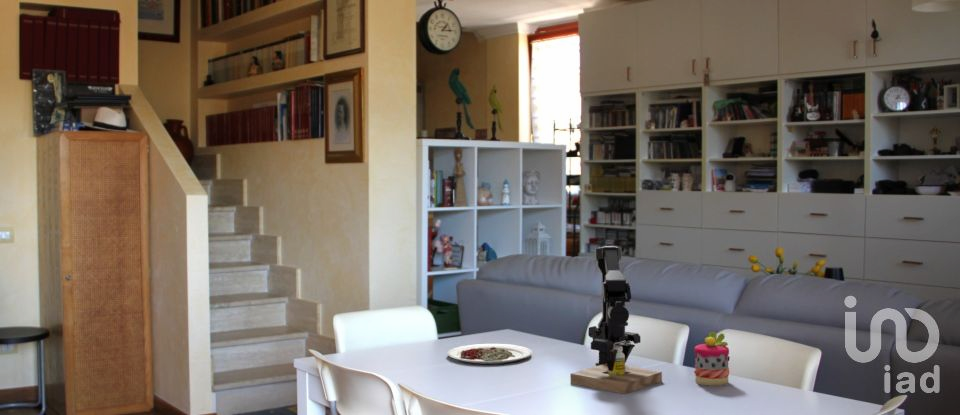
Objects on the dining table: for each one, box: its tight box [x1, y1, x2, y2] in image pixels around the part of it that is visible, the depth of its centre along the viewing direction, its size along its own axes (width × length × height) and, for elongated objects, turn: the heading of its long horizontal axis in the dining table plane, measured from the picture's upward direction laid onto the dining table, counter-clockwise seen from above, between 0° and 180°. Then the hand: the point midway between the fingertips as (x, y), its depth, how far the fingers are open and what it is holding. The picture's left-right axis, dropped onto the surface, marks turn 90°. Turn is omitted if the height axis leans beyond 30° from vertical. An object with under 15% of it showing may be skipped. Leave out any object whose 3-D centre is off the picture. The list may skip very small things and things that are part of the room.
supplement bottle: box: [608, 345, 626, 376], centre depth 269 cm, size 5×5×10 cm
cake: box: [693, 331, 730, 387], centre depth 267 cm, size 10×11×15 cm
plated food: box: [447, 343, 533, 365], centre depth 310 cm, size 30×30×3 cm
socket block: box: [570, 363, 663, 395], centre depth 269 cm, size 20×20×3 cm
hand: (616, 369), depth 269 cm, fingers closed on supplement bottle, 5 cm apart
